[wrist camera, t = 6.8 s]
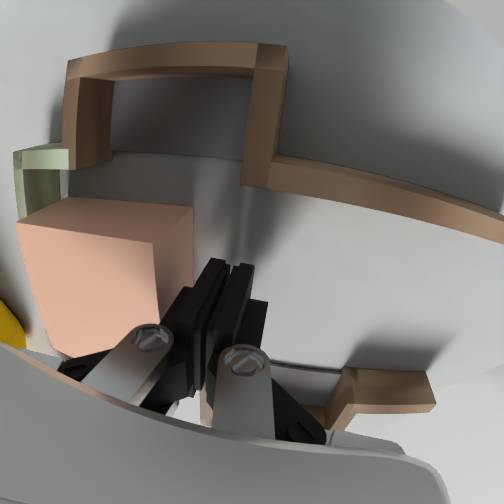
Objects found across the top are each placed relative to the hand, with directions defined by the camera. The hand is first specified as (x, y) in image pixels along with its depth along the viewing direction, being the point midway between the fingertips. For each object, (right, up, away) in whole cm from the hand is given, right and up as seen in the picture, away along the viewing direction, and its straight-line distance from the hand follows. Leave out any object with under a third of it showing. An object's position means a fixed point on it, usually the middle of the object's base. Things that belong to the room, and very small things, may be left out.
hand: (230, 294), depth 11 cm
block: (-5, +1, +2) cm, 6 cm away
